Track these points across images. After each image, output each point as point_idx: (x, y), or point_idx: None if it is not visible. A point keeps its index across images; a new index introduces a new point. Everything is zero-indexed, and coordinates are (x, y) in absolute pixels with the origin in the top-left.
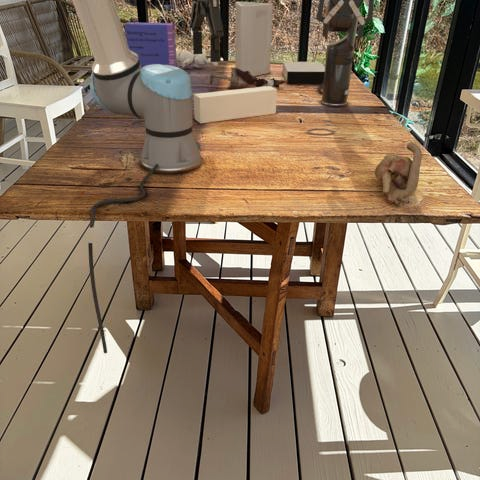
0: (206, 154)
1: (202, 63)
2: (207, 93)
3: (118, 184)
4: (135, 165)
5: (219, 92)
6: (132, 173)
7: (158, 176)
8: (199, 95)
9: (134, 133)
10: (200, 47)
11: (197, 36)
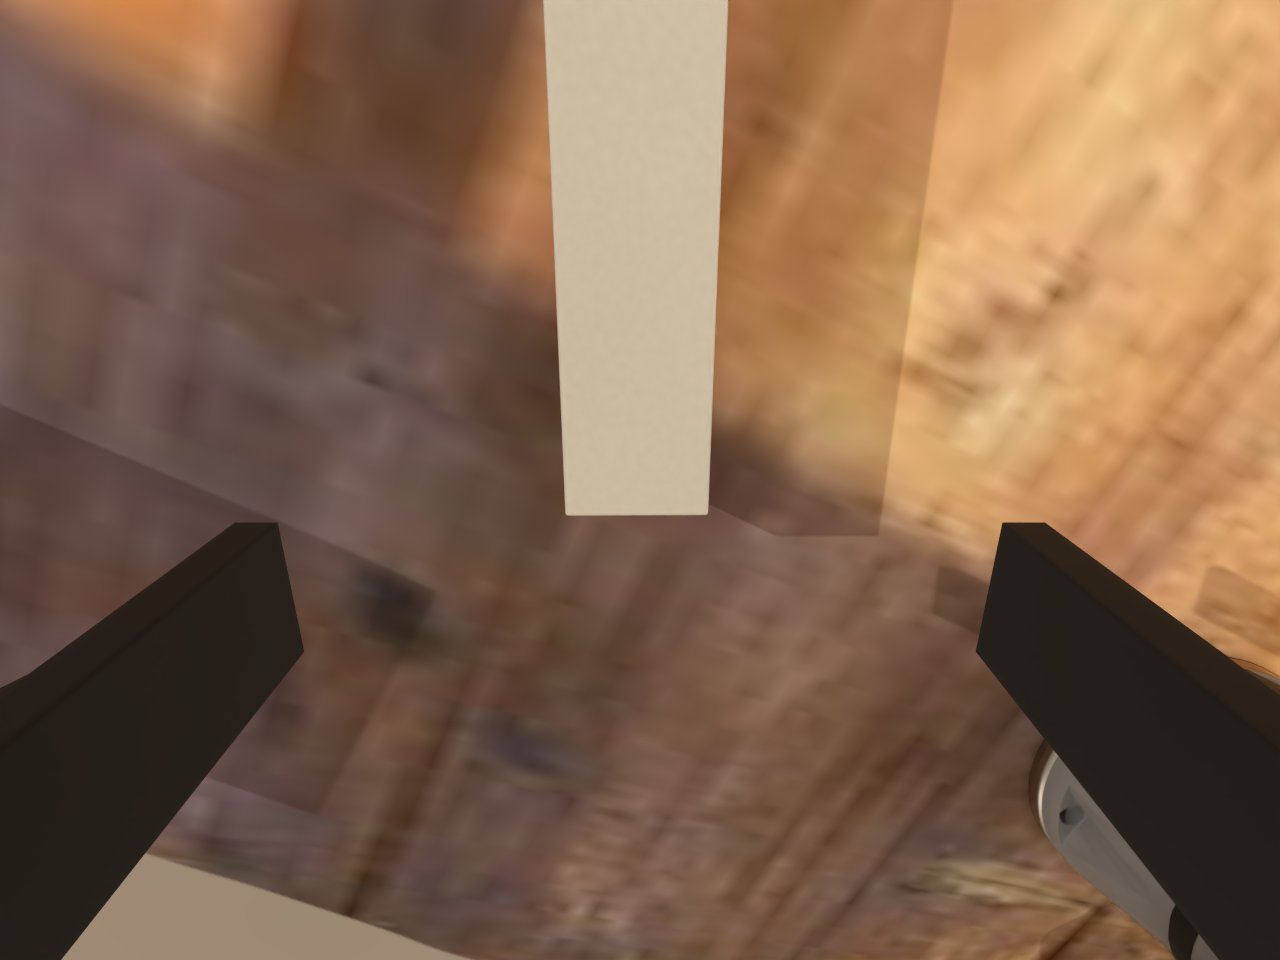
0: (1180, 604)
1: None
2: (594, 398)
3: None
4: None
5: (602, 272)
6: None
7: None
8: (632, 489)
9: (694, 796)
10: (218, 608)
11: (68, 831)
